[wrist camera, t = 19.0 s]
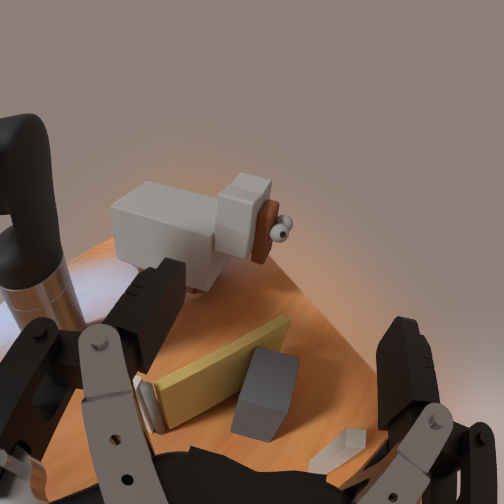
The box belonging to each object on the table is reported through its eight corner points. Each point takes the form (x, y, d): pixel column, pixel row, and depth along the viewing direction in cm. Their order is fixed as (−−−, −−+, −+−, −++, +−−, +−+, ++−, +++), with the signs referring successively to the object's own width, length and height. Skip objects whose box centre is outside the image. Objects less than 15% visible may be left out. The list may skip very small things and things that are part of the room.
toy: (263, 326, 48) (289, 217, 36) (119, 273, 53) (106, 170, 41) (279, 285, 57) (304, 185, 45) (150, 242, 61) (146, 149, 50)
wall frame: (118, 420, 32) (91, 373, 25) (124, 408, 33) (101, 358, 26) (322, 476, 29) (365, 448, 22) (324, 462, 31) (366, 429, 24)
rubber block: (230, 431, 33) (238, 399, 27) (245, 387, 39) (256, 346, 33) (269, 442, 33) (288, 412, 27) (281, 397, 38) (300, 357, 32)
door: (169, 429, 32) (159, 391, 25) (157, 411, 34) (144, 367, 27) (273, 369, 42) (290, 319, 35) (259, 355, 43) (273, 303, 37)
